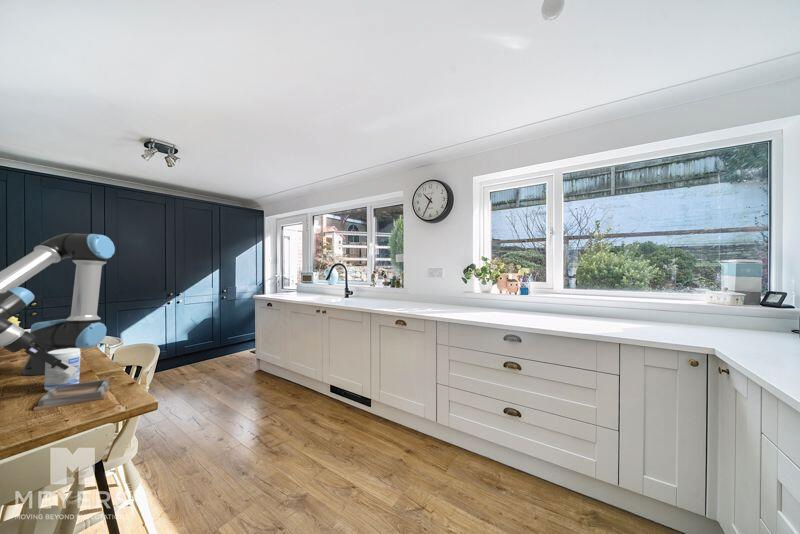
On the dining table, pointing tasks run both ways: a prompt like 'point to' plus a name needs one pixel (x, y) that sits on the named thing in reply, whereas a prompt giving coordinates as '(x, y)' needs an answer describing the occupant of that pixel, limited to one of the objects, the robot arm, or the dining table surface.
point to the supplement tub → (58, 376)
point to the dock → (74, 394)
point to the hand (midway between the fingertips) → (71, 368)
